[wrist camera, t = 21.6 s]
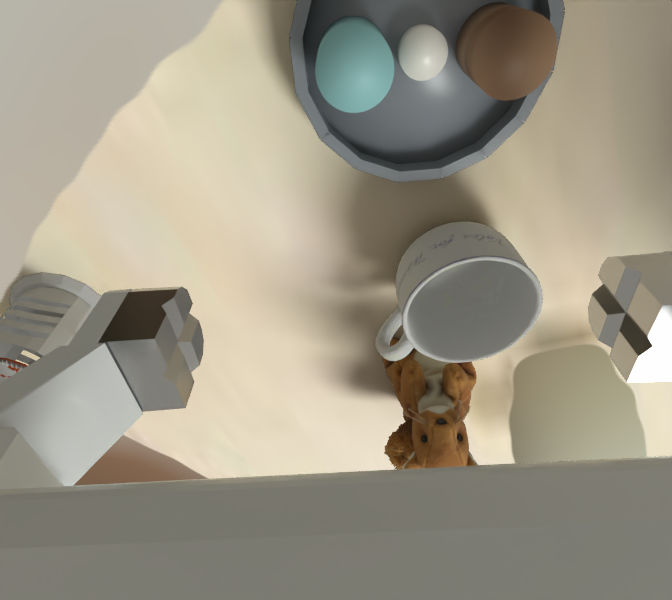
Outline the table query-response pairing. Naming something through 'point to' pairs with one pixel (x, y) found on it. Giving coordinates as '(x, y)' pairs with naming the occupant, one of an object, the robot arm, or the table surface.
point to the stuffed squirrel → (430, 411)
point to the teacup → (461, 296)
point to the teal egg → (354, 65)
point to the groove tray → (412, 89)
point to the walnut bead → (506, 50)
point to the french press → (42, 318)
